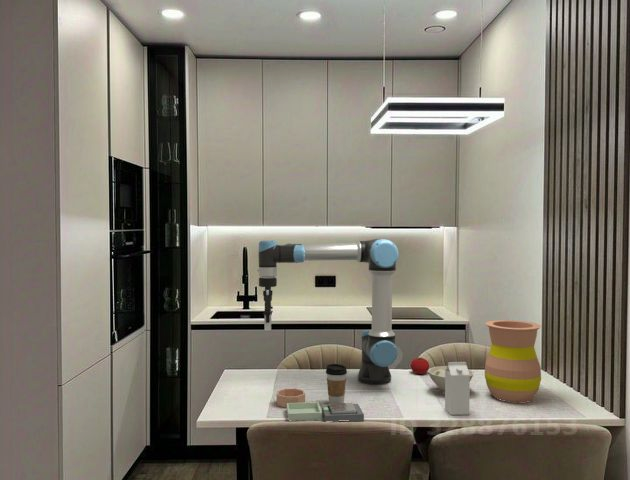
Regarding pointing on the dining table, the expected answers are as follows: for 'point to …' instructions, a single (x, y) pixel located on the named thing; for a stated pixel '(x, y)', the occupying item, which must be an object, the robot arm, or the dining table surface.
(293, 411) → the green square tray
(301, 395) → the bin
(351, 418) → the frame
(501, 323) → the vase
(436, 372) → the bowl
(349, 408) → the plate
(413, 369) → the tomato
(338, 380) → the coffee cup
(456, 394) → the milk carton
